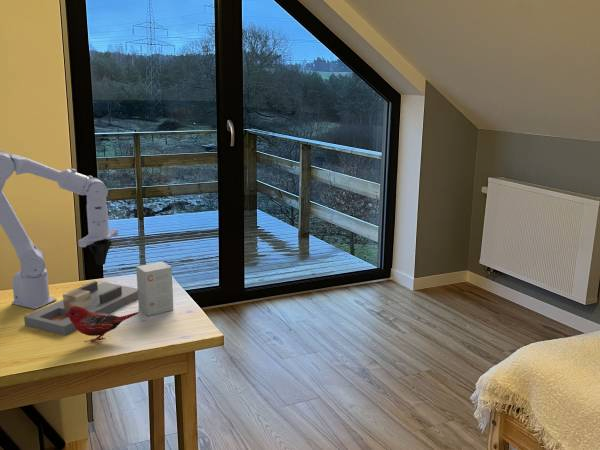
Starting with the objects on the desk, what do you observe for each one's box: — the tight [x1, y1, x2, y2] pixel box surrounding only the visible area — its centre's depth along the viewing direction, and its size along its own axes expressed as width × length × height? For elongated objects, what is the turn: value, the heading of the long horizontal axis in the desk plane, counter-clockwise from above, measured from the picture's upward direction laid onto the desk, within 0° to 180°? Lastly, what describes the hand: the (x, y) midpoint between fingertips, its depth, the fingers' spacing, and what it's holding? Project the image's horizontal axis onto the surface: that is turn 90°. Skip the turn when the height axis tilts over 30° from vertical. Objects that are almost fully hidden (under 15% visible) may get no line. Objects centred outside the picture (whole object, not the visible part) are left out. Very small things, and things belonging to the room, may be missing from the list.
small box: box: [135, 261, 174, 317], centre depth 165 cm, size 8×6×13 cm
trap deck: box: [23, 280, 138, 336], centre depth 164 cm, size 14×30×5 cm, turn 156°
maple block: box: [62, 288, 91, 309], centre depth 161 cm, size 5×5×4 cm
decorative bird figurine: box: [64, 306, 140, 343], centre depth 145 cm, size 3×18×10 cm, turn 114°
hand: (100, 264), depth 175 cm, fingers closed
